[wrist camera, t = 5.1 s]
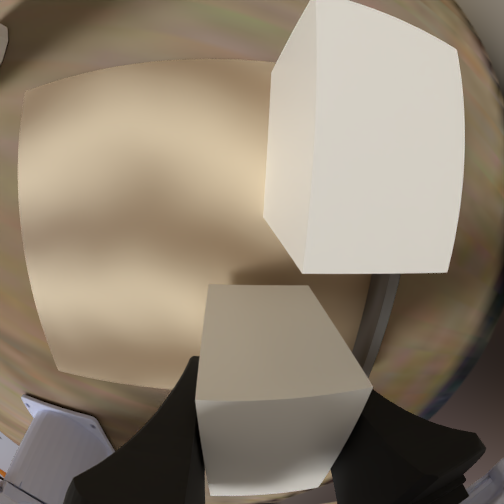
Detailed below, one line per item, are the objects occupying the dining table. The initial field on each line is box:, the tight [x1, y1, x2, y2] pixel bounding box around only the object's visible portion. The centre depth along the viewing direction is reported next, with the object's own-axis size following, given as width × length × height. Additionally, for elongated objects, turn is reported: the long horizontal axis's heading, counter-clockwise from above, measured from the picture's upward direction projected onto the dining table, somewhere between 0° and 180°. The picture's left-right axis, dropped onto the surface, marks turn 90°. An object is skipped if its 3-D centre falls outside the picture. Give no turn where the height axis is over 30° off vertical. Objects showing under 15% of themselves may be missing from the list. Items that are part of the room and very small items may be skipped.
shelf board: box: [18, 59, 401, 389], centre depth 11 cm, size 16×18×2 cm
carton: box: [195, 284, 373, 496], centre depth 9 cm, size 4×6×6 cm
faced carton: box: [263, 0, 465, 274], centre depth 7 cm, size 4×6×6 cm
